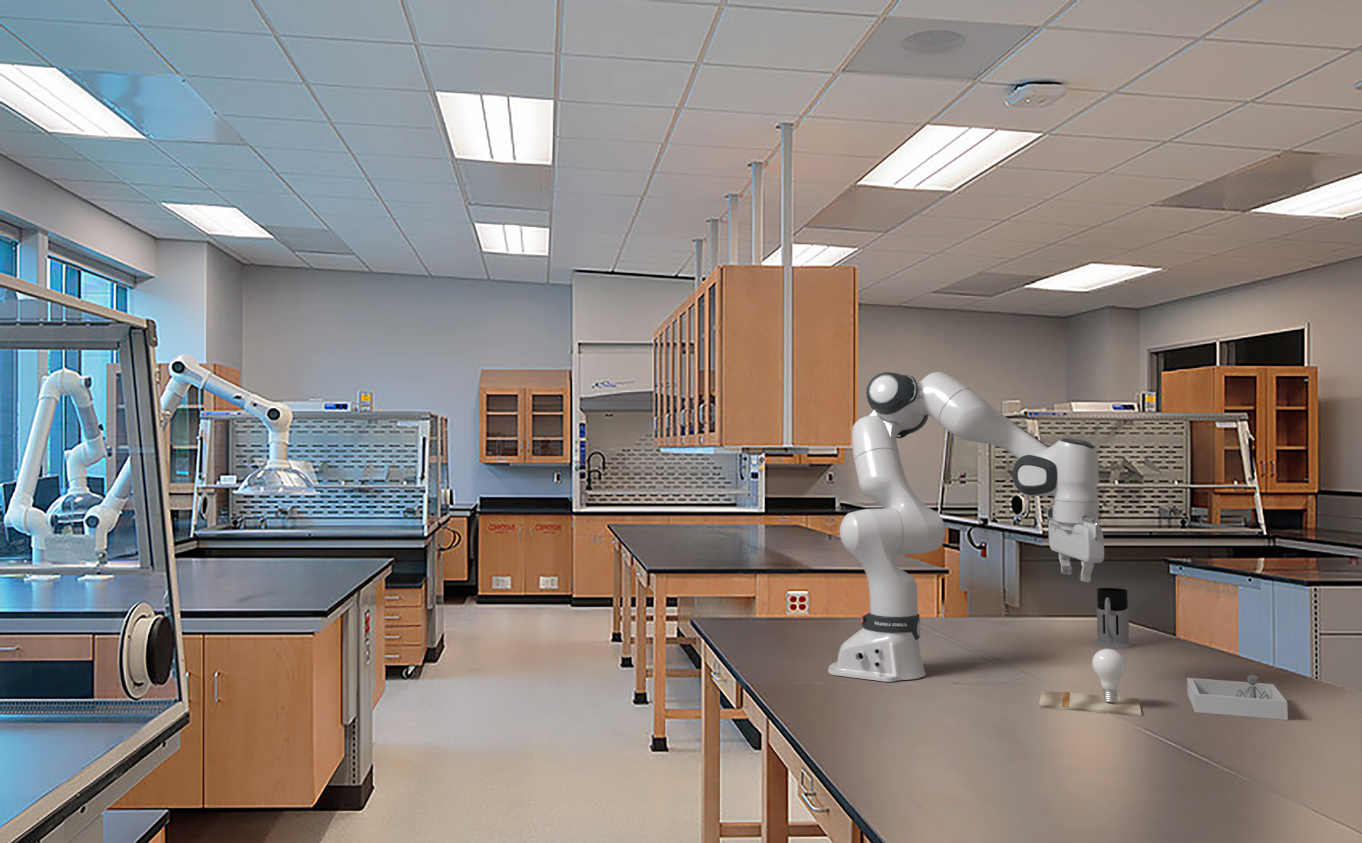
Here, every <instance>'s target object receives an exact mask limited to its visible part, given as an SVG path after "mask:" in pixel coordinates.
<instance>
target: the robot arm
mask: <svg viewBox="0 0 1362 843" xmlns="http://www.w3.org/2000/svg"><path fill="white" fill-rule="evenodd" d="M866 399H867V402H868V404H869V406H870V408H871V410H872V412H871V413H870V414H869V415H866V416H863V417H861V418H858V419H857V421H855V422H854V424H853V425H852V429H851V446H852V447H851V448H852V456H853V460H854V461H853V462H854V467H855V472H856V475H857V482H858V486H859V489H860V491H861V492H862V494H863V495H864V496H866V497H867V498H869V499H870V500H872V501H874V502H876V503H877V504H878V505H880V507H881V508H865V509H859V510H855V511H851V512H847V514H846V515H845V516H844V517H843V519H842V521H841V524H840V527H839V538H840V541H841V544H842V545H843V547H844V548H845V549H846V551H847V552H848V553H850V554H852V555H853V556H854V557H855V558H856V559H857V560H858V562H859V563H860V564H861V566H862V568H863V570H864V572H865V575H866V579H867V583H868V593H869V594H868V595H869V610H868V611H865V612H864V613H863V614H862V616H861V618H860V620H861V621H860V623H861V627H862V628H861V629H859V630H858V631H857V632H855V633H854V634H853V635H851V636H850V637H849V638H848V639H846V640H845V641H844V642H843V643H842V644H841V646H840V648H839V650H838V655H837V661H835V662H833V663H831V664H830V665H829V666H828V668H827V671H828V674H829V675H832V676H838V677H845V678H846V677H847V678H852V679H853V678H854V679H862V680H872V681H879V682H883V683H885V682H887V683H893V682H897V681H904V680H905V681H907V680H909V681H910V680H917V679H920V678H922V677H923V678H924V677H925V676H926V671H925V667H924V664H923V659H922V655H921V646H920V638H921V619H920V614H919V613H918V610H919V609H918V584H917V582H916V580H915V578H914V577H913V576H912V575H911V574H909V573H908V572H906V571H905V570H902V569H901V568H899V567H898V566H897V563H896V558H895V556H896V555H920V554H925V553H929V552H933V551H937V550H939V549H940V547H941V546H942V545H943V542H944V540H945V537H946V527H945V522H944V520H943V518H942V517H941V515H940V514H939V513H938V512H937V511H935V510H933V509H932V508H930V507H929V506H927V505H926V503H925V504H924V502H923V501H921V499H919V497H918V496H917V495H916V494H915V492H914V491H913V490H912V488H911V487H910V484H909V483H908V480H907V478H906V475H905V471H904V467H903V464H902V460H901V456H900V450H899V447H898V442H897V439H903V438H905V437H906V436H908V435H910V434H913V433H915V432H917V431H919V430H920V429H922V428H923V427H924V426H925V424H926V423H927V421H928V419H929V417H930V418H932V419H933V420H935V421H936V422H937V423H938V424H939V425H940V426H941V427H943V428H944V429H945V430H946V431H947V432H949V433H950V434H953V435H954V436H955V437H958V438H960V439H961V440H964V441H968V442H974V443H975V442H976V443H981V444H987V445H988V444H989V445H991V446H996V447H999V448H1001V449H1003V450H1006V451H1007V452H1008V453H1009V454H1011V455H1013V456H1014V457H1016V458H1017V460H1016V461H1015V462H1014V465H1013V468H1012V471H1011V472H1012V474H1011V475H1012V476H1011V477H1012V480H1013V484H1014V486H1015V488H1016V490H1018V491H1019V492H1020V493H1022V494H1024V495H1027V496H1031V497H1048V496H1049V497H1050V496H1053V497H1054V504H1052V506H1050V507H1048V508H1047V509H1046V517H1047V519H1049V520H1048V544H1049V547H1050V550H1051V551H1053V552H1055V553H1058V559H1059V563H1060V572H1061V574H1062V575H1067V576H1069V575H1072V572H1073V571H1072V570H1073V567H1072V565H1071V560H1070V559H1071V558H1073V559H1075V560H1079V561H1080V563H1081V564H1080V565H1081V572H1079V581H1081V582H1083V583H1089V582H1091V579H1092V577H1091V576H1092V572H1093V570H1094V567H1095V564H1097V563H1098V564H1099V563H1102V562H1103V561H1104V559H1105V544H1104V540H1105V539H1104V534H1103V533H1104V532H1103V530H1102V527H1100V525H1099V497H1098V494H1097V489H1098V484H1099V480H1100V478H1099V476H1100V475H1099V474H1100V473H1099V458H1098V452H1097V449H1096V447H1095V445H1093V444H1092V443H1091V442H1090V441H1086V440H1082V439H1075V438H1060V439H1059V440H1058V441H1056V442H1055V443H1054V444H1053V445H1050V446H1049V445H1048V444H1046V443H1044V442H1043V441H1041V439H1039V438H1038V437H1036V436H1034V435H1033V434H1031V433H1030V432H1028V431H1027V430H1025V429H1024V428H1023V427H1021V426H1020V425H1018V424H1017V423H1015V422H1014V421H1013V420H1011V419H1010V418H1008V417H1007V416H1005V415H1004V414H1003V413H1002V412H1000V411H999V410H998V409H996V408H995V407H993V405H991V404H990V403H989V402H988V401H986V400H985V399H984V398H983V397H981V396H980V395H979V394H978V393H976V391H974V390H972V388H970V387H968V386H967V385H966V384H965V383H963V382H962V381H961V380H958V379H957V378H955V377H953V376H951V375H949V374H948V373H945V372H942V371H934V372H931V373H929V374H927V375H925V376H924V377H923V378H922V379H921V380H920V381H916V379H915V377H914V376H912V375H907V374H900V373H896V372H891V371H890V372H889V371H887V372H881V373H878V374H876V375H875V376H874V377H872V378H871V380H869V383H868V384H867V386H866Z"/></svg>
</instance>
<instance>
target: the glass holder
mask: <svg viewBox="0 0 1362 843" xmlns="http://www.w3.org/2000/svg"><path fill="white" fill-rule="evenodd" d="M1096 598H1097V599H1096V602H1097V605H1096V626H1097V628H1096V630H1097V636H1096V637H1097V638H1096V639H1097V640H1096V642H1095V646H1097V647H1101V648H1104V649H1115V650H1116V649H1118V650H1119V649H1121V650H1122V649H1130V648H1132V645H1131V643H1130V627H1129V625H1130V621H1129V620H1130V619H1129V617H1130V616H1129V614H1130V613H1129V606H1128V605H1129V603H1128V589H1125V588H1119V587H1099V588H1097V589H1096Z"/></svg>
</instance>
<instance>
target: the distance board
mask: <svg viewBox="0 0 1362 843" xmlns="http://www.w3.org/2000/svg"><path fill="white" fill-rule="evenodd" d="M1117 699H1118V700H1117V701H1116V702H1114V703H1108V702H1106V701H1105V700H1104V694H1103V695H1102V694H1101V695H1100V694H1090V693H1089V694H1087V693H1076V692H1075V693H1074V692H1069V691H1063V692H1062V691H1052V690H1051V691H1049V690H1041V694H1040V698H1039V702H1038V707H1039V708H1046V709H1057V710H1058V709H1059V710H1069V711H1078V712H1079V711H1080V712H1092V713H1101V714H1103V713H1105V714H1114V715H1116V714H1117V715H1125V716H1127V715H1128V716H1137V717H1138V716H1139V717H1141V716H1142V710H1141V705H1140V700H1139V698H1138V697H1124V696H1117Z"/></svg>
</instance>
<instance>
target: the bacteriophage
mask: <svg viewBox="0 0 1362 843" xmlns="http://www.w3.org/2000/svg"><path fill="white" fill-rule="evenodd" d="M1247 682H1248V683H1250V684H1251V685H1253V686H1252V687H1251V686H1250V687H1249V688H1251V698H1256V689H1257V688H1256V687H1254V685H1256V684H1258V683H1260V681H1259V677H1258V676H1256V675H1255V674H1250V675H1248V676H1247ZM1249 688H1248V689H1249ZM1248 689H1247V690H1248ZM1249 690H1250V689H1249ZM1249 690H1248V691H1249ZM1257 690H1258V689H1257ZM1239 691H1241V690H1240V689H1239ZM1239 691H1238V693H1239ZM1264 692H1265V691H1264ZM1242 693H1243V692H1242V691H1241V694H1242ZM1247 693H1248V692H1247ZM1247 693H1246V694H1247ZM1259 693H1260V692H1259ZM1265 693H1266V692H1265ZM1260 694H1261V693H1260ZM1263 694H1264V693H1263ZM1263 694H1261V696H1262V695H1263ZM1237 695H1238V694H1237ZM1243 695H1244V693H1243ZM1267 695H1268V694H1266V695H1265V696H1267ZM1244 696H1245V695H1244ZM1265 696H1264V697H1265ZM1236 697H1237V696H1236ZM1240 697H1241V695H1240ZM1245 697H1246V696H1245ZM1264 697H1263V698H1264ZM1246 698H1247V697H1246ZM1260 698H1261V697H1260ZM1260 698H1259V699H1260ZM1263 698H1262V699H1263ZM1267 698H1269V696H1268V697H1267Z"/></svg>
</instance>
